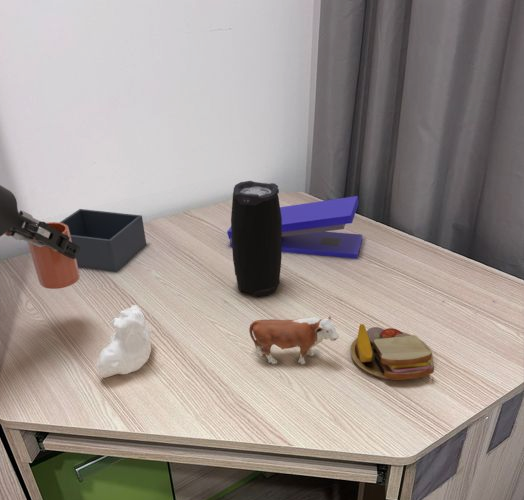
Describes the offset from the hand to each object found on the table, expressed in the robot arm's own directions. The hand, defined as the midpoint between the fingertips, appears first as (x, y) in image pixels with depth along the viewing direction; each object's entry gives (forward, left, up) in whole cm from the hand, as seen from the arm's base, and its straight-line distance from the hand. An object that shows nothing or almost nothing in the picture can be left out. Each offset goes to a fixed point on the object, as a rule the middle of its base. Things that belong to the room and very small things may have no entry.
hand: (60, 247), depth 86 cm
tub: (-10, +24, -14) cm, 30 cm away
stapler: (+29, +41, -14) cm, 52 cm away
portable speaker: (+27, +19, -14) cm, 36 cm away
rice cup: (0, -2, -5) cm, 5 cm away
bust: (+15, -9, -14) cm, 22 cm away
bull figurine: (+39, -1, -14) cm, 41 cm away
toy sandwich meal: (+54, +3, -14) cm, 56 cm away
